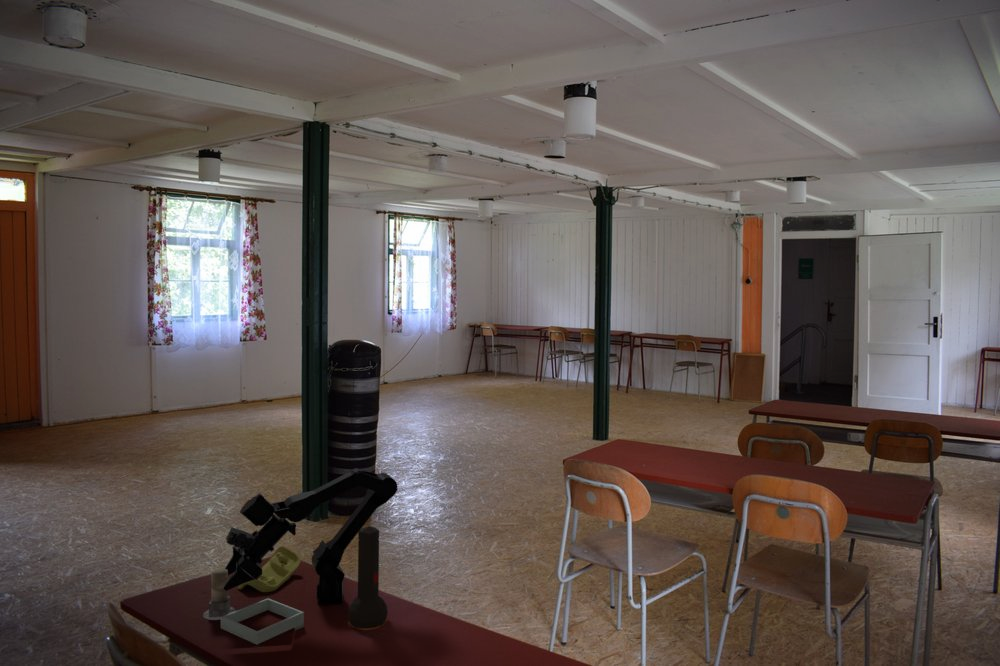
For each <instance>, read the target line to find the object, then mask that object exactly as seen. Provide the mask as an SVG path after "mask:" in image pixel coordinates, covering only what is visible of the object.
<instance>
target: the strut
mask: <svg viewBox="0 0 1000 666" xmlns="http://www.w3.org/2000/svg"><path fill="white" fill-rule="evenodd" d="M210 576H211V577H210V578H211V579H210V580H211V584H210V586H211V587H210V588H211V589H210V590H211V595H210V598H211V599H210V601H209V602H208V610H209V617H219V616H224V615H227V614H228V612H229V610H230V607H231V595H229V592H228V591H229V590H227V591H226V590H224V586H225V585H226V583H227V582H228V580H229V575H228V570H227V569H225V568H216V569H213V570H212V571H211V572H210Z"/></svg>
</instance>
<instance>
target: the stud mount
mask: <svg viewBox="0 0 1000 666" xmlns="http://www.w3.org/2000/svg"><path fill="white" fill-rule="evenodd" d="M235 611H237V610H236V608H234V607H233V606H230V610H229V612H228V614H229V613H232V612H235ZM202 617H203V618H205V619H206V620H210V621H219V620H220V621H221V617H222V616H219V617H209V609H207V610H205V611H204V612H203V614H202Z"/></svg>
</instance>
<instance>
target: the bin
mask: <svg viewBox="0 0 1000 666" xmlns="http://www.w3.org/2000/svg"><path fill="white" fill-rule="evenodd" d="M266 611H269V612H271V613H274V614H276V615H279V616H282V617H284V618H285V619H282V620H279V621H278V622H276V623H273V624H271V625H268V626H266V627H264V628H261V629H259V630H255V629H253V628H250V627H248V626H247V625H244V624H242V623H240V622H242V621H244V620H247V619H249V618H251V617H255V616H257V615H259V614H262V613H263V612H266ZM304 627H305V611H302V610H300V609H297V608H294V607H291V606H290V605H286V604H284V603H281V602H278V601H276V600H274V599H271V598H269V597H267V598H265V599H263V600H260V601H258V602H255V603H252V604H250V605H247V606H245V607H243V608H240V609H237V610H236V611H235V612H232V613H229V614H227V615H224V616H222V617H221V619H220V629H221V630H224V631H226V632H228V633H231V634H232V635H235V636H237V637H239V638H241V639H243V640H245V641H248V642H250V643H252V644H255V645H256V646H253V648H255V649H259V648H261V647H262V646H261V645H260V646H257V645H259V644H261V643H263V642H267V640H270V639H273V638H275V637H276V636H278V635H281V634H284V633H285V632H287V631H290V630H292V629H294V630H293V632H296V631H298V630H300V629H302V628H304Z"/></svg>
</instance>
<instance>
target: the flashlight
mask: <svg viewBox="0 0 1000 666" xmlns="http://www.w3.org/2000/svg"><path fill="white" fill-rule="evenodd" d="M357 537H358V544H357V546H358V547H357V548H358V549H357V551H358V552H357V555H358V557H357V596H356V597H355V598H354V599H353V600H352V602H351V604H350V605H349V608H348V613H347V616H348V622H349V625H350V626H353V628H355V629H362V630H363V629H374V628H378V627H381V626H382V625H384V624H385V623H386V620H387V618H388V606H387V604H386V602H385V600H384V599H383V598H382V597H381V596H380V595H379V587H380V586H379V583H380V582H379V581H380V579H379V576H380V575H379V574H380V573H379V572H380V571H379V570H380V569H379V568H380V565H379V564H380V540H379V539H380V530H379V529H378V528H377V527H375V526H369V525H368V526H365V527H364V526H363V527H362V528H361V529H360V531H359V532H358V533H357Z"/></svg>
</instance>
